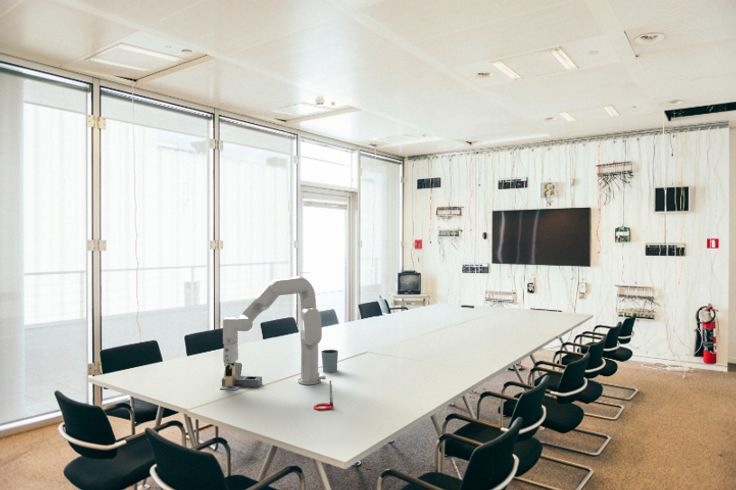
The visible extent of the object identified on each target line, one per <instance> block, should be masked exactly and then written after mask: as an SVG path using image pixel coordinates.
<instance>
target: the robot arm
mask: <svg viewBox="0 0 736 490" xmlns="http://www.w3.org/2000/svg"><path fill="white" fill-rule="evenodd" d="M296 294H298V295H299V299H300V318H301V320H302V322H303V327H302V328H301V330H300V333H299V334H300V336H299V338H300V378H299V379H298V380H297V382H298V383H299V384H301V385H311V386H312V385H317V384H319V383H321V382H322V380H327V379H326V378H327V377H326V375H323V374H320V372H319V344H320V342H321V341H322V336H323V331H322V330H323V329H322V326H323V325H322V315H321V313H320V310H318V309H317V301H316V292H315V288H314V287H313V285H312V283H311V282H310V281H309V280H308V279H306V278H305V277H303V276H302V275H293V277H291V278H285V279H284V278H283V279H280V278H274V279H272V280H271V281H270V282H269V283H268V285H267V286H266V287H264V289H263V290H262V291H261V292H260V293H259V294H258V296H257V297H256V298H255V299H254V300H253V301H252V302H251V303H250V304H249V305H248V306H247V307H246V308H245V310H244V311H243V312H242V313H241V314H240V315H239V317H238V318H237V317H236V316H227V317H224V318H223V319H222V345H223V352H222V353H223V355H222V356H223V357H222V361H223V363H224V364H223V365H224V368H225V369H226V376H232V369H231V365H235V362H236V361H238V360H239V347H238V346H239V344H238V340H239V339H238V336H239V335H238V334H239V333H238V332H248V331H250V330H252V328H253V326H254V324H253V322H254V321H255V319H256V318H258V316H259V315H261V314H262V313H263V312H265V311H267V310H269V309H270V307H271V306H272V305H273V304H274V302H275V301H276V300H277V299H278V298H279V296H290V295H296ZM228 362H229V363H228ZM228 364H230V365H228ZM225 369H224V370H225Z"/></svg>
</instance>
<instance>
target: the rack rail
mask: <svg viewBox="0 0 736 490" xmlns="http://www.w3.org/2000/svg"><path fill="white" fill-rule="evenodd" d="M262 384H263V376H260V375H259V376H256V375H254V376H253V375H252V376H251V375H241V376H235V385H233V386H240V388H257V389H258V388H259V387H260V386H261V385H262ZM223 386H225V377H224V376H223V377H222V378H221V387H223Z"/></svg>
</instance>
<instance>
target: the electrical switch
mask: <svg viewBox="0 0 736 490" xmlns="http://www.w3.org/2000/svg"><path fill="white" fill-rule="evenodd" d="M228 363H229V362H228ZM228 365H230V364H228ZM242 369H243V364H242V363H241V362H235V376H242ZM224 377H225V372H224V374H223V378H224Z"/></svg>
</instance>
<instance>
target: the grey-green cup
mask: <svg viewBox="0 0 736 490" xmlns="http://www.w3.org/2000/svg"><path fill="white" fill-rule="evenodd" d="M338 356H339V350H336V349H324V350H321V361H322V372H323V373H326V374H329V373H330V374H331V373H333V374H334V373H336V372H338V358H339V357H338Z"/></svg>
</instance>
